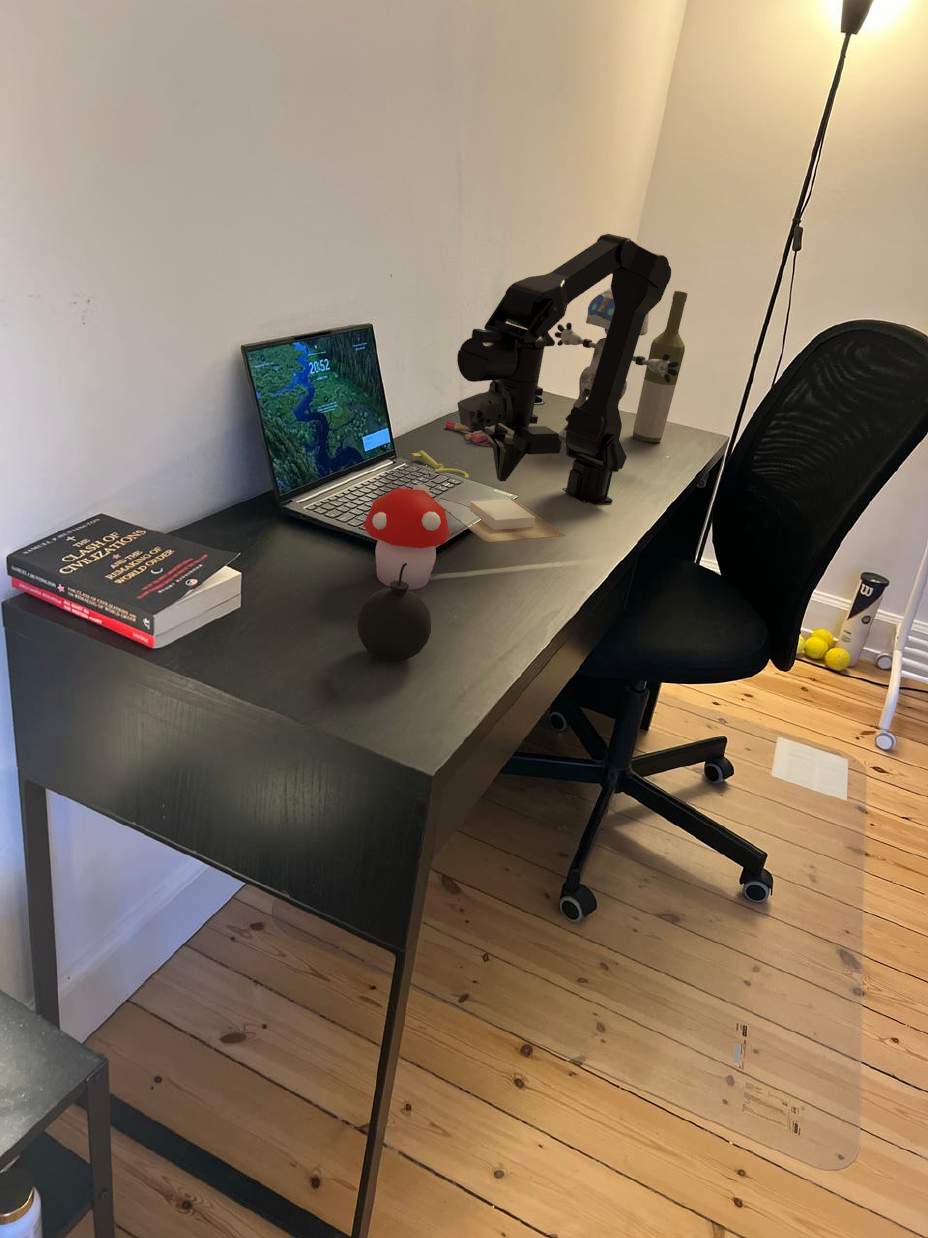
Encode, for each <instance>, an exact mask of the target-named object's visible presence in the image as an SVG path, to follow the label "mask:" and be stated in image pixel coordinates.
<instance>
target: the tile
mask: <svg viewBox="0 0 928 1238" xmlns="http://www.w3.org/2000/svg"><path fill="white" fill-rule="evenodd" d="M469 510H470V511H471V512H473V513H474V514H475V515H476V516H478V517H479V518H480V519H481V521H483V522H484V523H485V524H487V525H488V526H489V527H491V528H492V529H493V530H504V529H517V528H529V527H534V522H535V517H534V516H533V515H531V514H530V513H529V512H527V511H526V510H524V509H523V508H521V507H520V506H519V505H517V504H516V503H514V502H513V501H511V500H510V499H502V500H485V501H471V502H470V509H469Z"/></svg>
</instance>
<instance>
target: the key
mask: <svg viewBox="0 0 928 1238" xmlns="http://www.w3.org/2000/svg"><path fill="white" fill-rule="evenodd" d="M410 456H411V457H412V458H413V459H422V461H423V462H424V463H426V465H428V466H430V467H432V468H433V470H434V469H435V470H436V471H439V472H441V473H458V474H462V475H464V478H469V474H468V473H467V472H466V471H464V470H461V469H457V468H445V466H444V464H442V463H437V462H436V461H435V460H434V458H432V457H431V456H429V454H427V453H426V452H425V451H424V450H419V451H418V452H414V453H412V452H411V454H410Z"/></svg>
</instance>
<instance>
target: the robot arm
mask: <svg viewBox="0 0 928 1238" xmlns="http://www.w3.org/2000/svg"><path fill="white" fill-rule="evenodd" d="M611 274H612V275H611ZM610 275H611V276H612V277H611V282H610V289H611V292H612V296H613V301H614V306H615V307H614V312H613V315H612V319H611V322H610V325H609V329H608V332H607V334H606V335H605V338H606V339H605V342H604V346H603V349H602V353H601V356H600V359H599V363H598V366H597V370H596V373H595V376H594V380H593V383H592V387H591V390H590V393H589V396H588V397H587V398H586V401H585V402H584V403H583V404H582V405H581V406H580V407H579V408H578V407H573V406H572V409H571V410H570V412H569V414H570V418H569V422H567V424H566V425H567V426H566V425H565V426H566V428H565V431H566V436H565V439H564V440H565V446H566V447H565V448H566V450H565V451H566V457H568V458H571V459H574V460H573V462H572V468H571V469H570V470H569V474H568V479H567V483H566V487H563V488H562V489H561V490H563V491H564V492H565V493H566V494H568V495H569V496H571V497H573V498H574V499H577V500H578V501H580V502H582V503H589V504H590V505H597V504H599V505H601V504H612V503H613V501H614V500H613V499H612V498H611V497H609V496H608V495H609V491H610V486H611V482H612V478H613V473H618V472H619V470H622V469H623V467H624V465H625V463H626V460H627V457H628V456H627V454H626V453H625V450H624V448H623V445H622V443H621V440H620V438H621V432H622V428H623V424H622V419H621V414H620V409H619V404H620V401H621V400H620V398H621V394H622V391H623V388H624V385H625V381H626V382H627V377H628V375H629V371H630V368H631V365H632V362H633V361H632V358H633V356H635V351H636V348H637V345H638V341H639V339H640V336H641V335H640V332H641V329H642V326H643V322H644V319H645V316H646V315H647V314H648V313H650V312H651V311H652V310H653V309H654V308H655V307H656V306H657V305H658V304H659V303H660V302H661V300H662V298H663V296H664V293H665V292H666V289H667V286H668V285H669V282H670V280H671V277H672V268H671V266H670V263H669V259H668V258H667V257H666V256H665V255H664V254H659V253H654V252H651V251H649V250H647V249H646V248H643V247H642V246H640V245H638V244H637V243H636V242H635V241H634V240H631V238H629V237H626V236H620V235H616V234H611V233H606V234H602V235H600V236H599V237H598V238H597V240H596V241H595V242H594V243H592V245H589V246H587V248H585V249H584V250H582V251H581V252H579V253H578V254H576V255H574V256H573V257H572V258H570V259H569V260H567V261H565V262H564V263H562V264H561V265H559V266H558V267H557V268H555V269H553V270H552V271H550V272H549V273H545V274H542V275H535V276H528V277H526V278H523V279H520V280H518V281H515V282H513V283H512V284H511V285H510V286H509V287H508V288H506V290H505V292H504V293H505V294H504V295H503V297H502V298H501V300H500V302H499V303H498V305H497V306H496V307H495V309H494V311H493V312H492V314H491V315H490V317H489V318H488V319H487V322H486V323H485V324H484V329H482V328H473V329H472V332H471V337H470V338H467V339H466V340H465V341H464V342H462V344H461V346H460V349H459V350H458V351H457V359H456V361H457V367H458V370H459V372H460V374H461V376H462V377H463V378H464V379H465V380H467V382H472V383H476V382H487V381H491V382H490V383H489V388H488V391H484V392H479V393H477V394H474V395H471V396H468V397H466V398H464V399H461V400H459V401H458V402H457V408H458V414H459V420H460V424H462V425H465V426H467V427H468V428H469V429H470V430H471V431H482V433H484V434H485V435H486V437H487V438H488V439H489V440H490V441H491V442H490V443H491V449H492V452H493V459H494V464H495V465H494V466H495V467H494V468H495V474H496V478H497V480H498V481H499V482H506V481H507V480H508V479H509V477H510V476H511V475H512V473H514V472H513V471H514V470H515V469H516V467H517V466H518V465H519V464H520V462H521V461H522V460H523V458H524V457H525V456H526V455H530V456H531V455H554V454H555V455H556V454H558V455H559V454H560V453H561V450H562V444H563V438H562V437H561V436H560V435H559V432H557V431H555V430H553V429H551V428H550V427H548V426H546V425H545V426H544V425H541V426H539V425H538V426H537V425H536V424H538V420H539V416H537V415H535V414H533V413H534V408H535V403H536V397H537V396H538V397H539V396H540V397H542V396H543V391H544V388H542V387H541V386H539V379H540V375H541V368H542V364H543V356H544V352H545V348H546V347H553V346H555V344H556V341H555V340H554V339H553V337H552V336H551V335H550V333H549V331H551V330H552V329H553V328H554V327H555V325H558V324H559V322H560V321H561V320H562V319H563V318H564V317H565V315H566V312H567V308H568V305H569V304H571V303H572V301H574V300H575V299H576V298H578V297H579V296H581V295H583V294H584V293H585V292H586V291H588V290H590V289H591V288H592V287H594V286H595V285H597V284H598V283H600V282H601V281H603V280H604V279H605V278H607V277H609V276H610ZM639 335H640V336H639ZM621 399H622V398H621ZM530 424H531V425H532V424H533V425H534V424H535V425H536V426H530ZM514 426H515V427H514ZM485 427H486V428H485Z"/></svg>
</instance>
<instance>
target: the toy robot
mask: <svg viewBox="0 0 928 1238" xmlns="http://www.w3.org/2000/svg"><path fill="white" fill-rule="evenodd" d="M614 307H615V306H614V301H613V296H612V292H611V288H607V289H605V290H604V291H602V292H600V293H599V294H597V295H596V296H595V297H594V298H593V299H591V301H590V303H589V304H588V307H587V316H586V320H585V323H586V324H587V325H593V326H597V327H600V328H603V329H604V332H605V333H604V334H605V335H607V332H608V329H609V325H610V322H611V319H612V315H613V312H614ZM649 313H650V312H649ZM649 313H648V314H647V315H646V316H645V319H644V322H643V326H642V329H641V332H640V335H639V337H640V336H645V335H647V333H648V327H649V316H650V315H649ZM565 327H566V328H565ZM565 327H564V326H563V324H561V323H558V324H557V327H556V328H557V330H558V331H556V332H555V333H554V337H556V338H557V339H560V340H558V341H557V343H556V344H557V345H558V347H561V346H562V345H564V346H565V345H566V346H570V345H571V346H577V345H578V346H579V345H582V347H583V348H585V349H591V348H592V349H594V350H593V354H592V358H591V361H590V364H589V366H587V367H585V368H584V369H583V370H582V372H581V374H580V376H579V380H578V381H579V383H578V384H579V385H578V386H579V389H578V390H579V392H578V393H579V394H578V397H577V398H576V400H575V401H574V402H573V405H572V408H573V407H578V408H579V407H580V406H581V405H582V404H583V403H584V402H585V401H586V400H587V398H588V396H589V393H590V390H591V387H592V383H593V380H594V376H595V373H596V370H597V366H598V363H599V359H600V356H601V353H602V349H603V346H604V342H605V339H606V337H603V338H600V339H599V340H598V341H596V343H595V342H593V340H592V339H589V338H584V339H582V337H581V335H579V334H578V333H576V332H574V330H572V327H573V325H572V323H571V322H567V323H566V325H565ZM669 358H670V355H669V354H668V353H665V354H664V356H663V358H662V359H660V360H659V359H651V360H648V359H646V356H645V357H644V356H642V355H637V356H635V355H633V358H632V362H635V363H634V364H635V365H637V366H646V367H648V368H649V369H650V370H651V371H653V372H655V373H657V375H658V376H661V377H664V378H665V381H666V382H670V381H671V378H670V376H669V374H670V375H672V376H676V375H677V374H678V371H677V370H674V369H671V368H673V367H677V366H678V365H679V363H678V361H673V362H669V361H668V359H669ZM627 386H628V382H627V380H626V381H625V385H624V388H623V391H622V394H621V398H620V401H621V400H622V398H623V397H624V395H625V393H626V391H627V388H628V387H627ZM569 418H570V413H569V414H568V415H567V416H566V417H565V418H564V419H565V421H566V422H567V423H568V422H569ZM566 426H567V424H566V425H565V426H564V427H563V428H561V430H560V431H559V432H558V433H559V435H560V436H561V438H562V439H564V440H565V436H566V431H565V428H566Z"/></svg>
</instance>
